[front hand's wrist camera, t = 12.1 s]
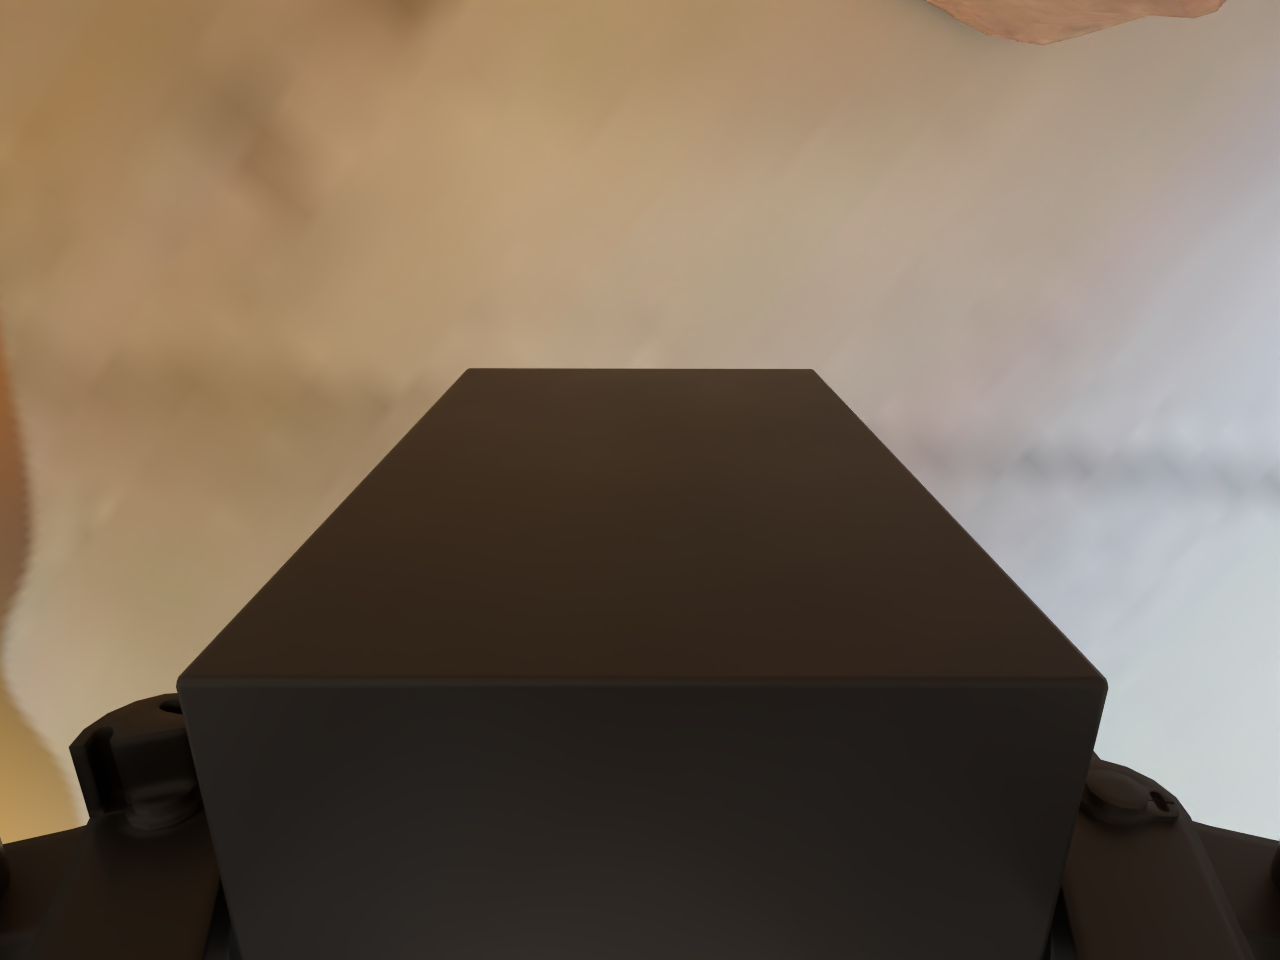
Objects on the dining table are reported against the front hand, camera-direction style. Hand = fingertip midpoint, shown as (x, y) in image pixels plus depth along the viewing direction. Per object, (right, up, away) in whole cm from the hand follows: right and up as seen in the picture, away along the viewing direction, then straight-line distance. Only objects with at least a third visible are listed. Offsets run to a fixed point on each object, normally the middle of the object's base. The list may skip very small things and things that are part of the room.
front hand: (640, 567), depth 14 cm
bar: (0, -9, +4) cm, 10 cm away
